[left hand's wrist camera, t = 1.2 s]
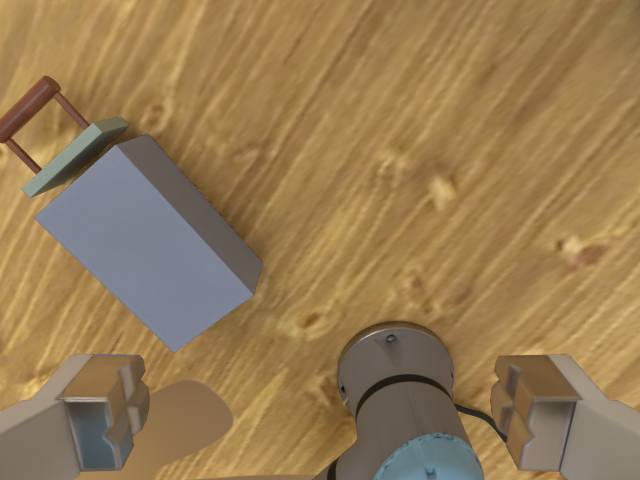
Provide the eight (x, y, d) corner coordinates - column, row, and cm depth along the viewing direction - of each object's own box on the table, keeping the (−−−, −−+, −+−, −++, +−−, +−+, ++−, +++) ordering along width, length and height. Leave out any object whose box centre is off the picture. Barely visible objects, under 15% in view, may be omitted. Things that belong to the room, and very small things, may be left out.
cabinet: (77, 196, 53) (33, 217, 45) (148, 133, 51) (115, 144, 42) (194, 314, 58) (173, 353, 50) (263, 263, 56) (253, 295, 48)
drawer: (12, 131, 49) (-31, 139, 43) (78, 68, 47) (41, 67, 41) (171, 292, 56) (153, 319, 50) (235, 243, 54) (224, 265, 48)
